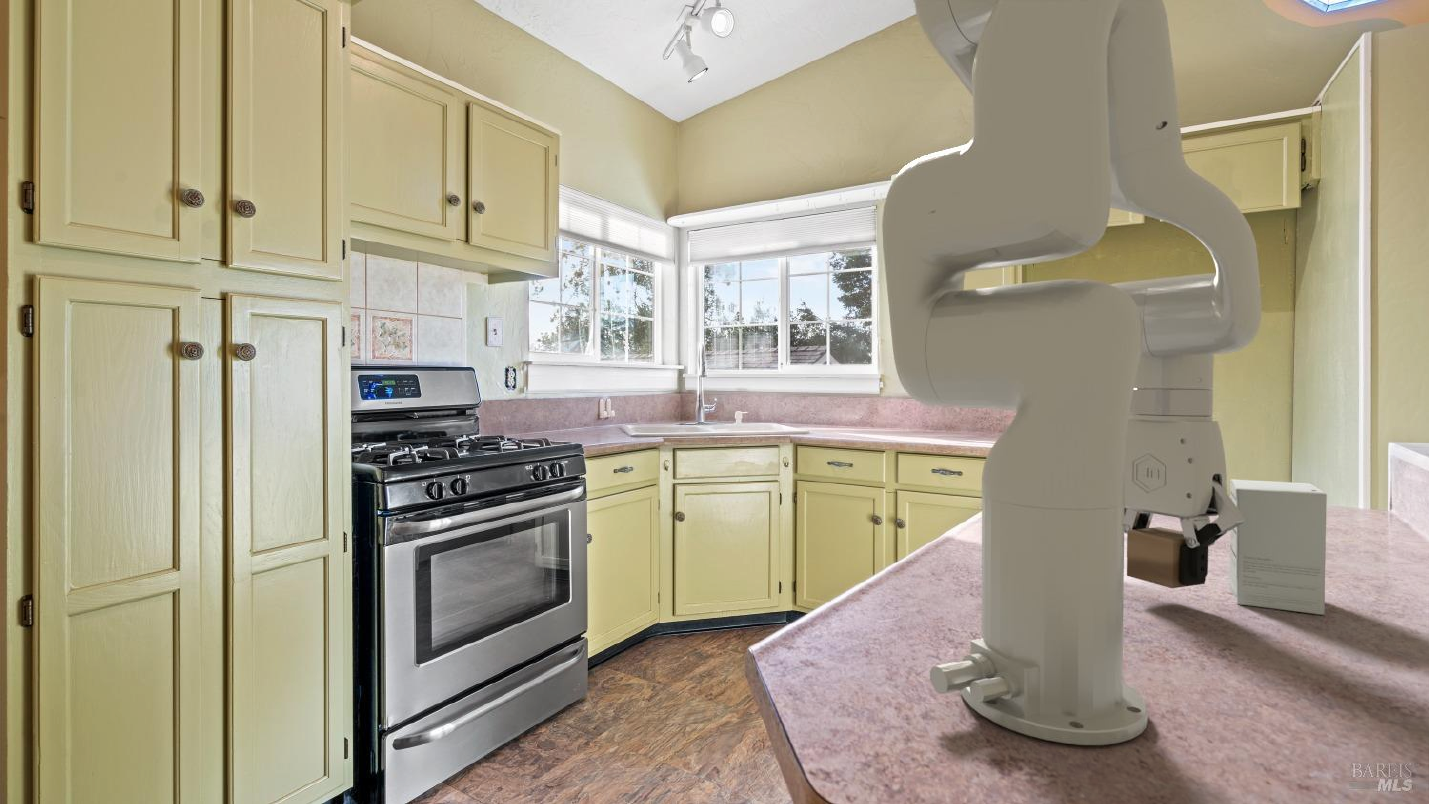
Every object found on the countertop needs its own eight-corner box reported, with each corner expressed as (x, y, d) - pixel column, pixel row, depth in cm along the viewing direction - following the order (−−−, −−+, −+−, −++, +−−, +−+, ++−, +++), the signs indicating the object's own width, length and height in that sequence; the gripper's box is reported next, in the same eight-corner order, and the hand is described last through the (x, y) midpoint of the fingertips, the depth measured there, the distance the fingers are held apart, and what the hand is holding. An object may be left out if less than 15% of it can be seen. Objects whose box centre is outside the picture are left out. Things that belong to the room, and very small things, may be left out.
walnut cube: (1172, 588, 70) (1173, 539, 70) (1126, 575, 74) (1127, 530, 74) (1204, 583, 72) (1205, 536, 71) (1158, 571, 76) (1159, 527, 76)
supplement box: (1310, 596, 75) (1313, 482, 74) (1325, 617, 69) (1329, 492, 68) (1227, 586, 79) (1229, 477, 78) (1233, 604, 73) (1236, 486, 72)
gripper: (1074, 404, 79) (1071, 560, 79) (1231, 409, 63) (1226, 604, 64) (1120, 404, 82) (1117, 555, 82) (1282, 408, 66) (1277, 595, 66)
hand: (1165, 574), depth 73 cm, fingers closed on walnut cube, 5 cm apart
